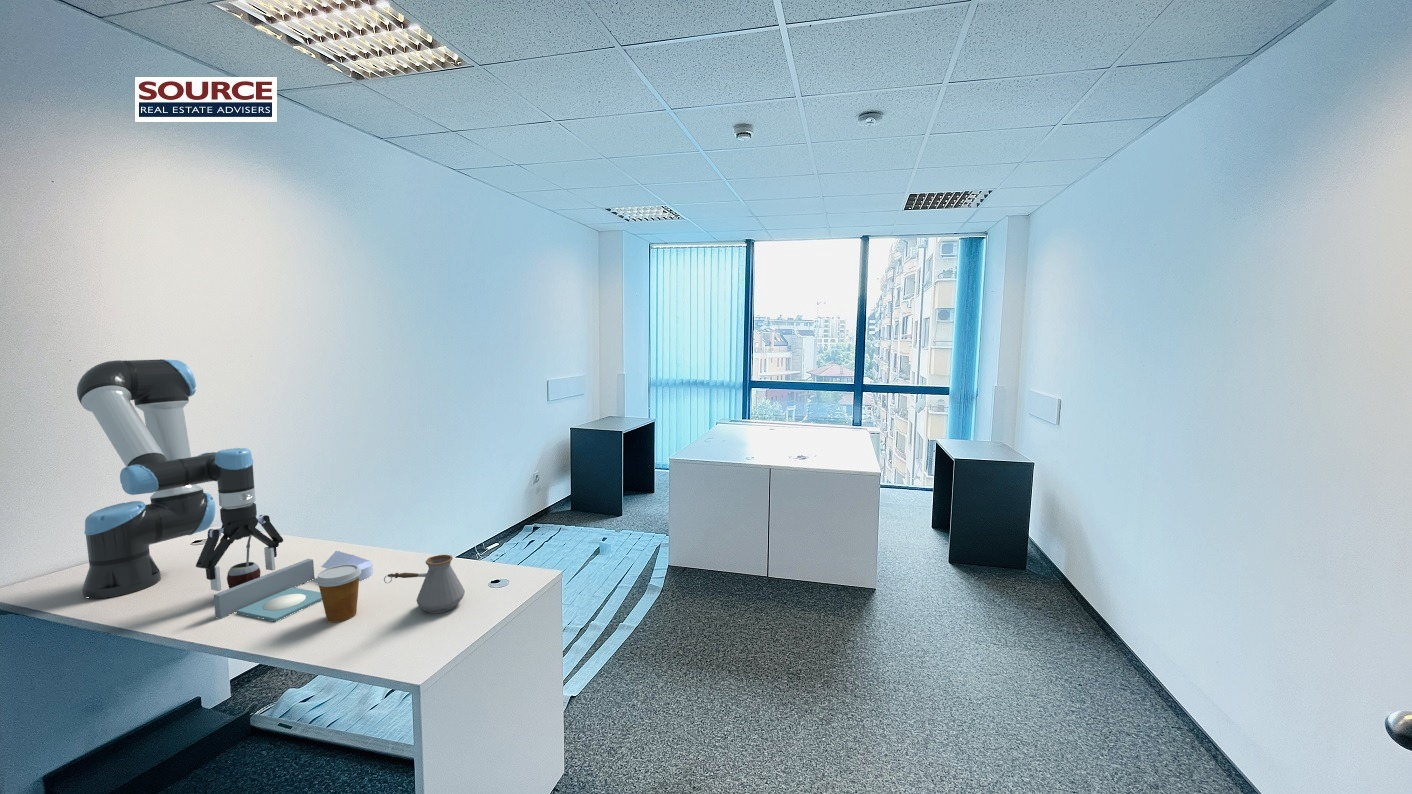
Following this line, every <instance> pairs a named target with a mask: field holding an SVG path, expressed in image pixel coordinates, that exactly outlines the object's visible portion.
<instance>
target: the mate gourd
mask: <svg viewBox="0 0 1412 794" xmlns="http://www.w3.org/2000/svg"><path fill="white" fill-rule="evenodd" d="M252 537H253V536H252V535H250V536H249V537H247V543H246V562H240V563H238V564H234V565H233V566H231V567H230V568H229V569H228V571H227V576H226V582H227V586H228V589H230V588H233V587H235V586H238V585H240V584H243V583H246V582H248V581H251V580H254V579H256V578H259V577H261V569H260V565H258V564H257V563H256V562H253V561H250V548H251V539H252Z"/></svg>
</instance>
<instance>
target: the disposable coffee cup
mask: <svg viewBox="0 0 1412 794" xmlns="http://www.w3.org/2000/svg"><path fill="white" fill-rule="evenodd" d="M360 574H361V570H360V569H359V566H358V565H355V564H344V565H338V566H333V567H330V568H327V569H326V568H324V569H323V570H321V571H319V573H318V574H317V576H316V577H317V578H316V579H315V582H316V584H317V586H318V587H319V592H321V597H322V601H321V602H322V606H323V609H324V613H325V617H326V618H325V619H326V621H327V622H329V623H339V622H340V623H341V622H344V621H347V620H350V619H352V618H353V617H355V616H356V615H357V611H358V610H357V609H358V597H359V584H360V582H359V577H360Z"/></svg>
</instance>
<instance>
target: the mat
mask: <svg viewBox="0 0 1412 794" xmlns="http://www.w3.org/2000/svg"><path fill="white" fill-rule="evenodd" d="M321 600H322V597H321V592H320V591H316V590H309V589H305V588H299V587H292V588H289V589H287V590H285V591H282V592H280V593H277V594H275V595H273V596H270V597H268V598H266V599H263V600H261V601H258V602H256V603H254V604H251V605H249V606H247V607H244V608H242V609H239V610H237V612H236V613H239V614H238V615H242V614H244V615H243V616H246V615H248V616H247V617H251V616H253V618H256V617H259V618H258V619H261V618H264V619H263V620H265V619H268V620H267V621H270V620H273V621H272V622H275V621H277V622H279V621H281V620H283V619H285V618H284V617H286V616H288V615H290V614H292V613H294V612H296V613H298V612H300V611H299V610H301V609H303V610H305V609H307V608H309V607H311V606H314V605H315V603H316V604H318V603H320V602H322V601H321ZM317 602H318V603H317ZM310 605H311V606H310ZM308 606H309V607H308ZM306 607H307V608H306ZM304 608H305V609H304ZM297 611H298V612H297ZM301 611H302V610H301ZM294 614H295V613H294ZM292 615H293V614H292ZM290 616H291V615H290ZM288 617H289V616H288ZM282 618H283V619H282ZM286 618H287V617H286ZM280 619H281V620H280ZM278 620H279V621H278Z"/></svg>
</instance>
